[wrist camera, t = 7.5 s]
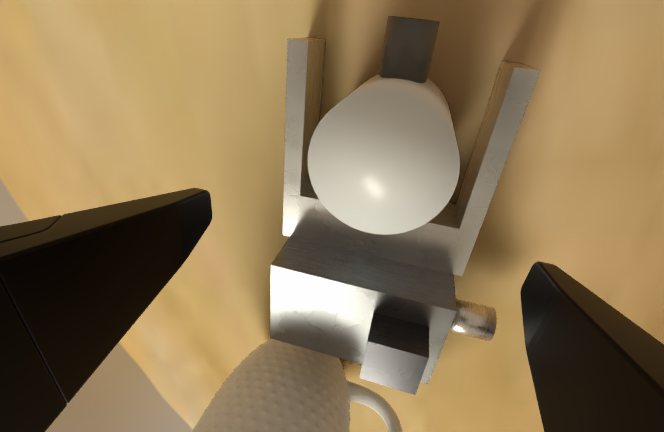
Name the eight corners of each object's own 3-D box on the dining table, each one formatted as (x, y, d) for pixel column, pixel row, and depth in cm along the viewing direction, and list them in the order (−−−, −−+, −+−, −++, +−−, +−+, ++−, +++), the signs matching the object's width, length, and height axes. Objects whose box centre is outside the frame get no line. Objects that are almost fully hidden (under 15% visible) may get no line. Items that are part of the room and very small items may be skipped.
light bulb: (479, 27, 16) (506, 25, 10) (435, 184, 20) (437, 247, 14) (356, 13, 17) (317, 5, 11) (339, 165, 21) (303, 218, 15)
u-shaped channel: (579, 71, 16) (689, 102, 9) (470, 322, 25) (485, 434, 18) (307, 37, 18) (234, 42, 11) (295, 277, 27) (249, 362, 20)
